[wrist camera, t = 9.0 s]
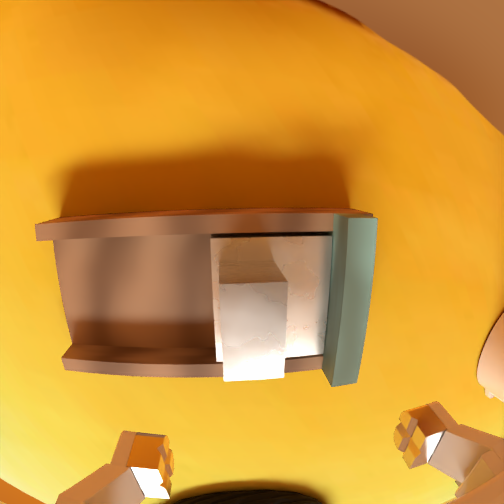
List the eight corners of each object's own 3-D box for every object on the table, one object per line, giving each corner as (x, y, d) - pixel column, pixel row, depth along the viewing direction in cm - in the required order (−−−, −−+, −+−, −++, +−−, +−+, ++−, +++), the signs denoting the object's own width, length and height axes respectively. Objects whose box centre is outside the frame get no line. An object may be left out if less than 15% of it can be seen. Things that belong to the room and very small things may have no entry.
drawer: (350, 208, 24) (390, 218, 18) (339, 341, 27) (368, 380, 20) (59, 217, 22) (16, 230, 15) (81, 347, 24) (53, 386, 18)
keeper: (320, 230, 23) (361, 250, 16) (314, 338, 25) (343, 387, 18) (211, 232, 22) (207, 255, 15) (216, 344, 24) (217, 400, 17)
